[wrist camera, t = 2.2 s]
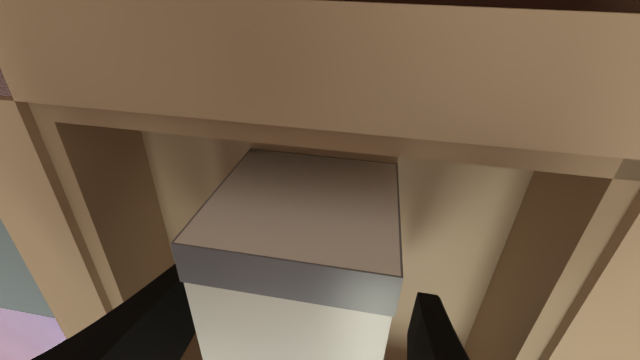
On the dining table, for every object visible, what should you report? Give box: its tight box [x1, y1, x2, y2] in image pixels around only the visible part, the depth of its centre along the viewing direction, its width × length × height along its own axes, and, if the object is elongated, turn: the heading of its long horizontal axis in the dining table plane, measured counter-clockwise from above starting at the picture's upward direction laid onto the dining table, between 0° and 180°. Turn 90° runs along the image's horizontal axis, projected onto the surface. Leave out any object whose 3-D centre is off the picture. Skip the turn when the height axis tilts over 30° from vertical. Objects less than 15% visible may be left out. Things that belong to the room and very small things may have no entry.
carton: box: [0, 0, 640, 360], centre depth 12 cm, size 19×20×4 cm
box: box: [170, 148, 403, 360], centre depth 12 cm, size 9×5×5 cm, turn 178°
